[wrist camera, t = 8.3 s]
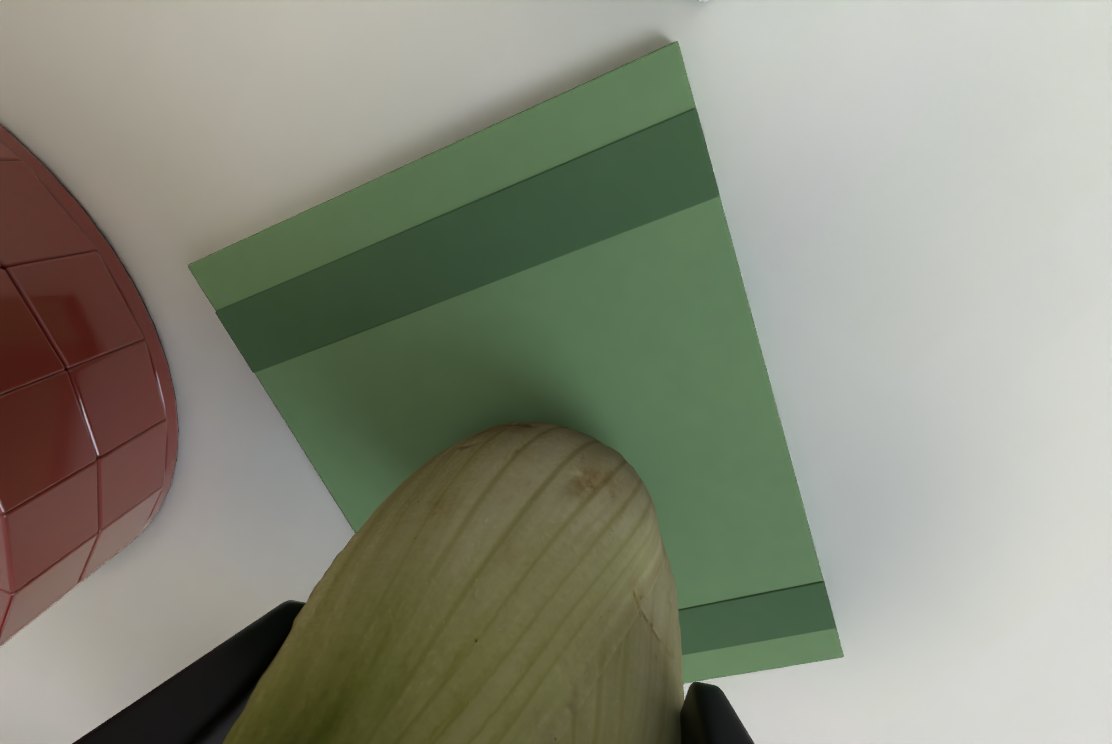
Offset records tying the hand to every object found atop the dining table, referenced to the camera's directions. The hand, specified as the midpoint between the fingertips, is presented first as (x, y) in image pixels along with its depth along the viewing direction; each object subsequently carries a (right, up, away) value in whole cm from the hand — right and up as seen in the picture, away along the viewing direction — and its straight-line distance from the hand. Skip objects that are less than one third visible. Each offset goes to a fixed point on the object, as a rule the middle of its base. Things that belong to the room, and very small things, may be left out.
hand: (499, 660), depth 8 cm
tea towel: (+1, +2, +5) cm, 5 cm away
